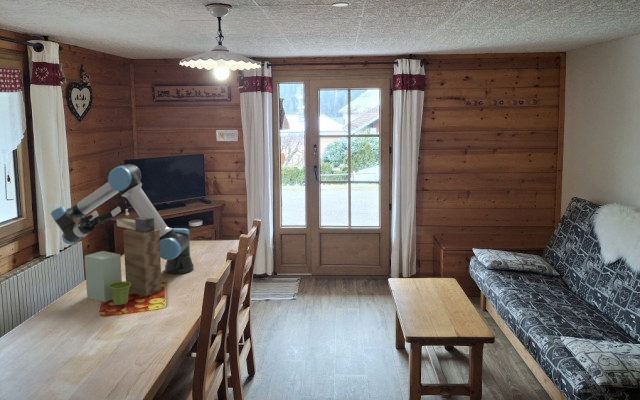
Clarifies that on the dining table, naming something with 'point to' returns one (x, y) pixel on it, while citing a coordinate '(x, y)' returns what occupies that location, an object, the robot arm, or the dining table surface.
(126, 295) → the plant pot
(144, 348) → the dining table surface
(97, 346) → the dining table surface
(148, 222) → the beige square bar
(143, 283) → the stand tall
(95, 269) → the pale green block
